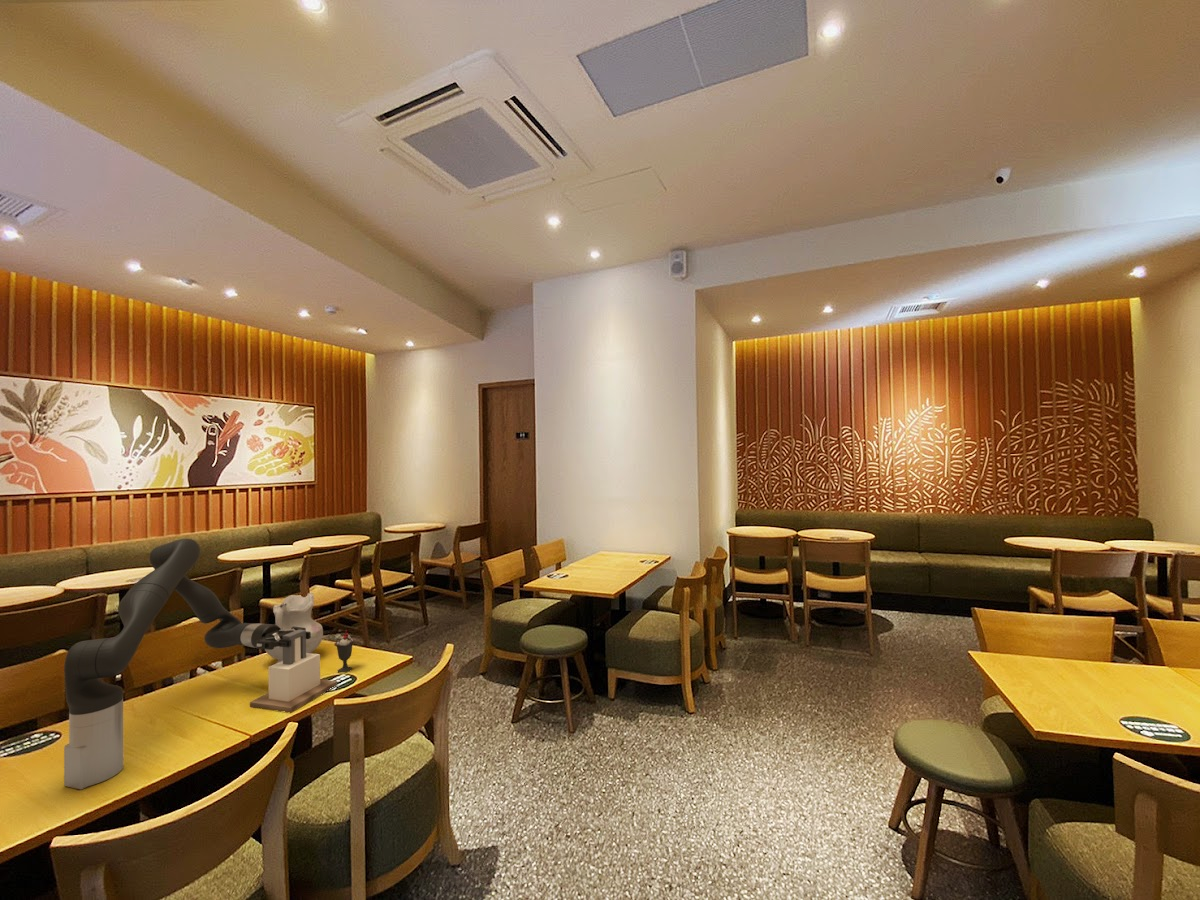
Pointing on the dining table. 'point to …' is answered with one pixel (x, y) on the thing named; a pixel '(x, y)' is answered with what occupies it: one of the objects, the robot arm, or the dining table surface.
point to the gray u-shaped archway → (289, 651)
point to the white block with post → (294, 675)
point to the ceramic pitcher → (297, 621)
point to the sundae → (344, 650)
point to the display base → (296, 702)
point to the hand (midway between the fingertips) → (300, 639)
